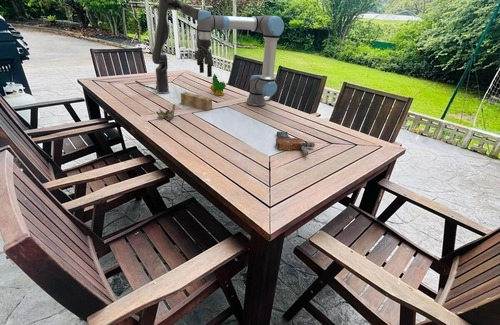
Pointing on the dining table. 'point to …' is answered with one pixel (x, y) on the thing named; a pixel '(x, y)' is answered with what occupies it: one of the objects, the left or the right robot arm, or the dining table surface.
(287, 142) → the tool
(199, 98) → the bar
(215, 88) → the ornament
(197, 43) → the left robot arm
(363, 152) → the dining table surface
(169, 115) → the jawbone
